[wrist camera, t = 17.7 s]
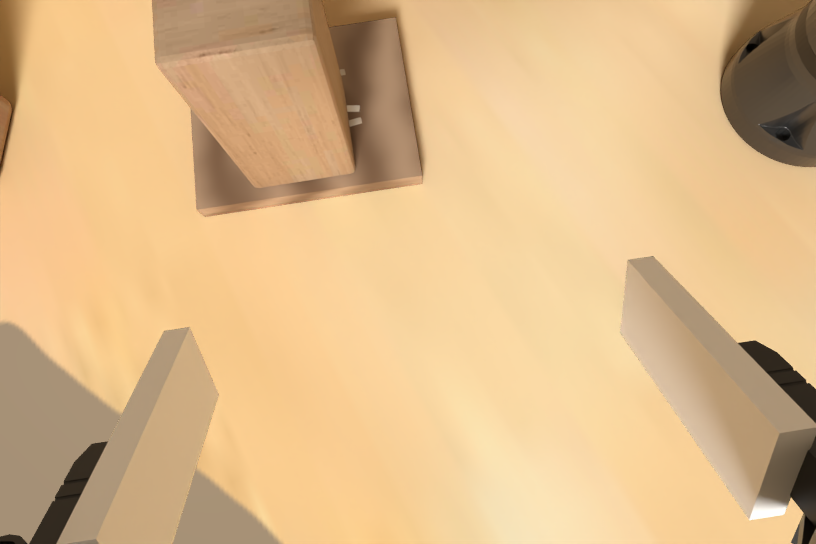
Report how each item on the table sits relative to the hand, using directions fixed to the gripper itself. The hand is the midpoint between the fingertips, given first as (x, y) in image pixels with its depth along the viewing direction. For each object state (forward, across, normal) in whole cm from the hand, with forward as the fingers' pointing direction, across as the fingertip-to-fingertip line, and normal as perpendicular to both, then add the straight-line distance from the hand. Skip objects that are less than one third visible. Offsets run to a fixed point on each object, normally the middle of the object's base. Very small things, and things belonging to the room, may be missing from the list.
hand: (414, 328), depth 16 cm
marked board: (+43, -8, -4) cm, 44 cm away
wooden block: (+40, -8, -5) cm, 41 cm away
